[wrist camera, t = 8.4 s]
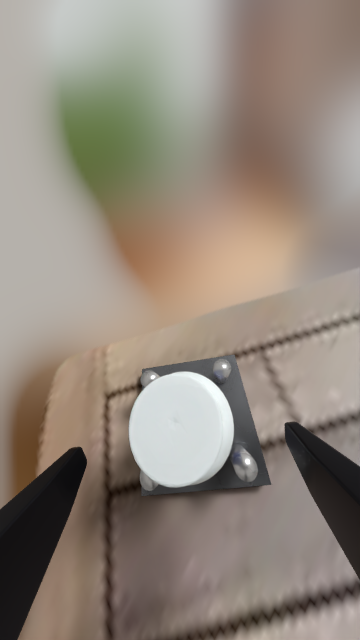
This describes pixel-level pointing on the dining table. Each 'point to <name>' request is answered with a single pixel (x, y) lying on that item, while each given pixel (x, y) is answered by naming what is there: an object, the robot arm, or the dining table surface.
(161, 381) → the pill bottle
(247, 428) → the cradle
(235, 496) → the dining table surface
